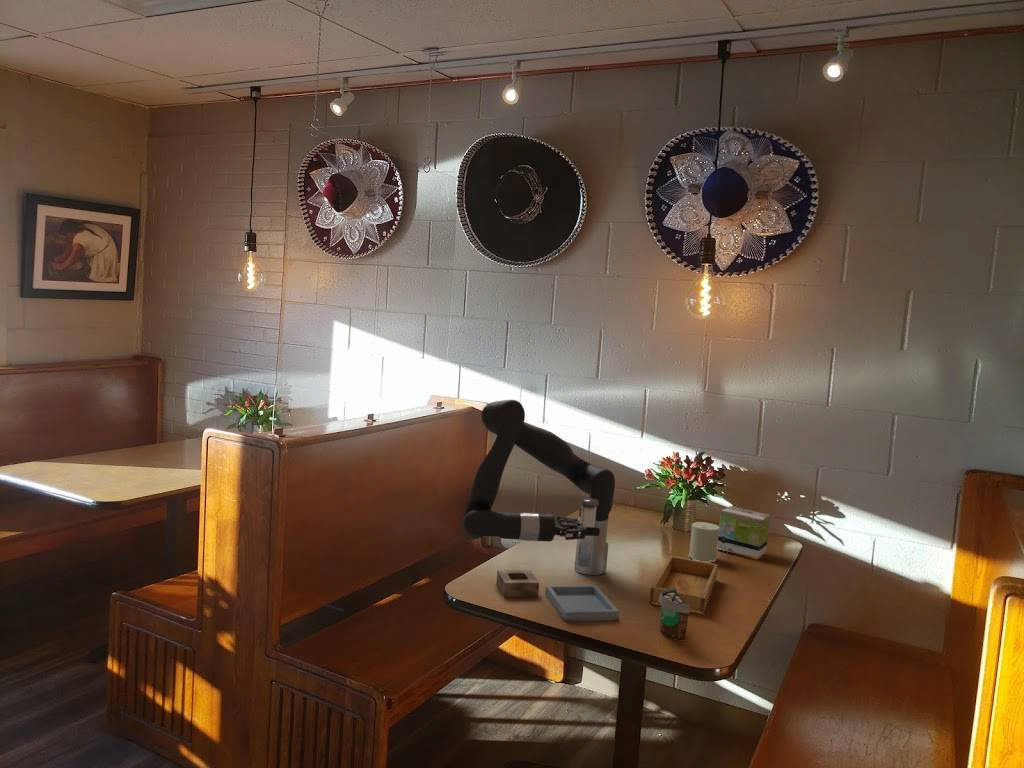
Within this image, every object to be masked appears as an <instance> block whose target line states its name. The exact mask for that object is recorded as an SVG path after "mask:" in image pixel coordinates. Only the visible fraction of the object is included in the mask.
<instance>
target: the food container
mask: <svg viewBox="0 0 1024 768" xmlns="http://www.w3.org/2000/svg"><path fill="white" fill-rule="evenodd" d="M658 601H659V603H660V604H661V606H660V621H659V622H660V626H659V627H660V633H661V635H663V636H664V637H666V638H668V637H669V638H668V639H670V638H672V639H671V640H674V639H676V640H675V641H678V640H683V641H682V642H685V641H686V636H687V628H688V622H689V614H690V613H691V612H690V605H686V604H685V602H684V600H683V598H682V597H680V596H679V595H678V593H677V588H670V589H665V590H663V591H662V593H661V594H660V597H659V600H658ZM684 640H685V641H684Z"/></svg>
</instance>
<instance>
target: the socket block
mask: <svg viewBox="0 0 1024 768" xmlns="http://www.w3.org/2000/svg"><path fill="white" fill-rule="evenodd" d="M496 571H497V572H496V586H497V587H498V589H499V591H500V592H501V594H502V597H503V598H505V597H507V598H510V597H512V596H513V597H512V598H514V597H515V596H516V597H518V596H521V597H539V593H540V590H539V589H540V582H539V580H538V579H537V577H536V576H535V574H534V573H533V572H532V570H531V569H519V570H518V569H517V570H516V569H514V570H513V569H512V570H511V569H506V570H504V569H503V570H501V569H500V570H499V569H498V570H496Z"/></svg>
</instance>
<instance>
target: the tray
mask: <svg viewBox="0 0 1024 768" xmlns="http://www.w3.org/2000/svg"><path fill="white" fill-rule="evenodd" d="M718 566H719V565H718V564H716V563H707V562H702V561H696V560H691V559H690V558H685V557H679V556H675V555H669V557H668V558H667V560H666V562H665V563H664V565H663V567H662V568H661V570H660V572H659V574H658V575H657V577H656V578H655V580H654V581H653V584H652V585H651V587H650V594H649V603H650V602H653V603H658V604H660V603H659V601H658V600H659V597H660V594H661V593H662V591H663V590H665V589H670V588H677V593H678V595H679V596H680V597H682V598H683V600H684V602H685V604H686V605H690V610H694V611H700V612H704V613H705V611H704V610H706V609H705V607H706V608H707V606H706V604H707V605H708V603H707V601H708V602H709V600H710V598H709V596H710V597H711V595H710V593H711V594H712V592H713V589H714V587H713V586H715V584H714V583H716V581H717V576H718ZM715 580H716V581H715ZM712 588H713V589H712ZM711 591H712V592H711ZM700 594H703V595H700ZM708 599H709V600H708Z"/></svg>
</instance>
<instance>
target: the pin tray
mask: <svg viewBox="0 0 1024 768" xmlns="http://www.w3.org/2000/svg"><path fill="white" fill-rule="evenodd" d="M544 594H545V596H546V597H547V599H548V600H549V601H550V603H551V602H552V603H551V604H552V606H553V607H554V609H555V608H556V609H555V610H556V611H557V613H558V614H559V616H560V617H561V618H562V620H563V622H564V623H565V622H598V621H602V622H603V620H605V621H606V620H607V621H619V618H620V617H619V616H620V611H619V609H618V608H617V607H616V605H614V604H613V603H612V601H611V600H610V599H609V598H608V597H607V596H606V595H605V594H604V593H603V591H602V590H601V589H600V588H599V587H598V585H596V584H570V585H569V584H568V585H567V584H566V585H565V584H560V585H559V584H557V585H556V584H555V585H554V584H553V585H545V593H544ZM605 621H604V622H605Z"/></svg>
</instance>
